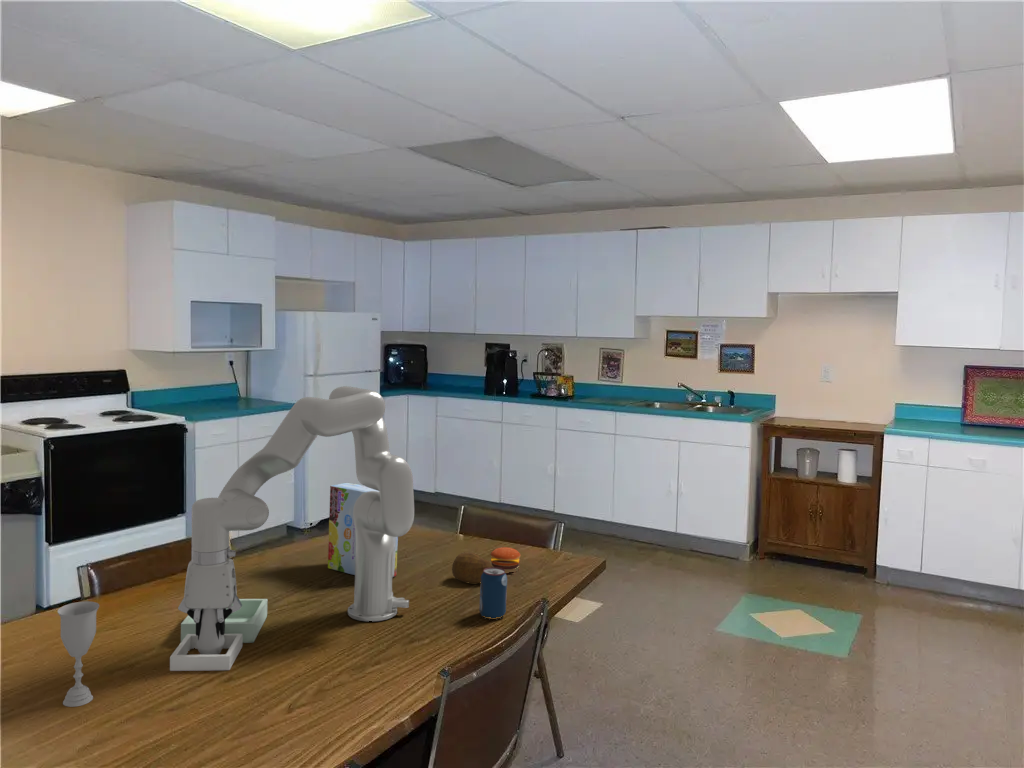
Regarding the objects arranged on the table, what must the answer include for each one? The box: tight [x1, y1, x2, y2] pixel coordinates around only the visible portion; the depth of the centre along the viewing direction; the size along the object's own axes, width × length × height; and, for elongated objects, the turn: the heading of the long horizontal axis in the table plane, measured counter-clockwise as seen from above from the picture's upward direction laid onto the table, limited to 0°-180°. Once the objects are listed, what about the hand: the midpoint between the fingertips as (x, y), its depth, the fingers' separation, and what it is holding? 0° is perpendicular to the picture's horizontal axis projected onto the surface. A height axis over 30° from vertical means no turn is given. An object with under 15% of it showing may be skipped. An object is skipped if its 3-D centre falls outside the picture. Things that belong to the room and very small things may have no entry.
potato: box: [451, 552, 492, 584], centre depth 220 cm, size 8×12×9 cm
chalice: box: [57, 600, 100, 708], centre depth 143 cm, size 7×7×18 cm
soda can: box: [478, 567, 508, 618], centre depth 195 cm, size 7×7×12 cm
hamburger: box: [489, 546, 522, 570], centre depth 235 cm, size 9×10×7 cm
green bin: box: [180, 598, 268, 644], centre depth 179 cm, size 16×16×4 cm
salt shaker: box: [196, 605, 225, 655], centre depth 163 cm, size 6×6×13 cm
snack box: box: [327, 482, 399, 578], centre depth 225 cm, size 22×9×26 cm, turn 58°
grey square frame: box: [169, 634, 244, 672], centre depth 163 cm, size 12×12×3 cm
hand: (210, 637), depth 163 cm, fingers closed on salt shaker, 3 cm apart
